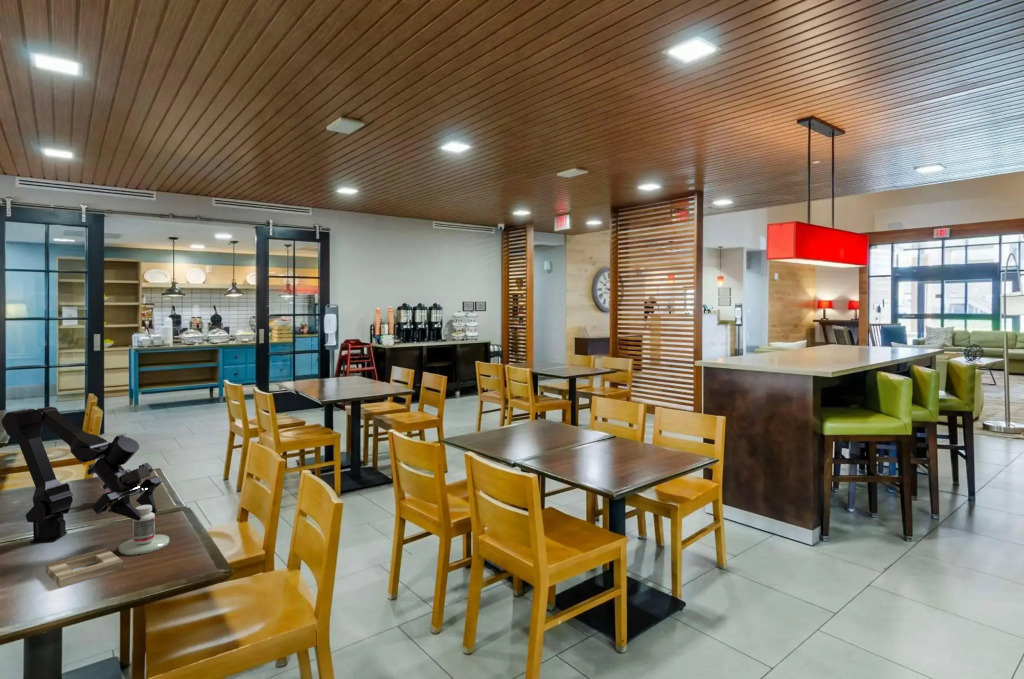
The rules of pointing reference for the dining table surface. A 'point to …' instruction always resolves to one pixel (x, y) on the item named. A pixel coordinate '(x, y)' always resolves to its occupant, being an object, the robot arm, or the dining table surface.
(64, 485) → the robot arm
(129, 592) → the dining table surface
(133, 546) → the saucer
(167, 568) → the dining table surface
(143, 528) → the pill bottle
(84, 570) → the socket block
